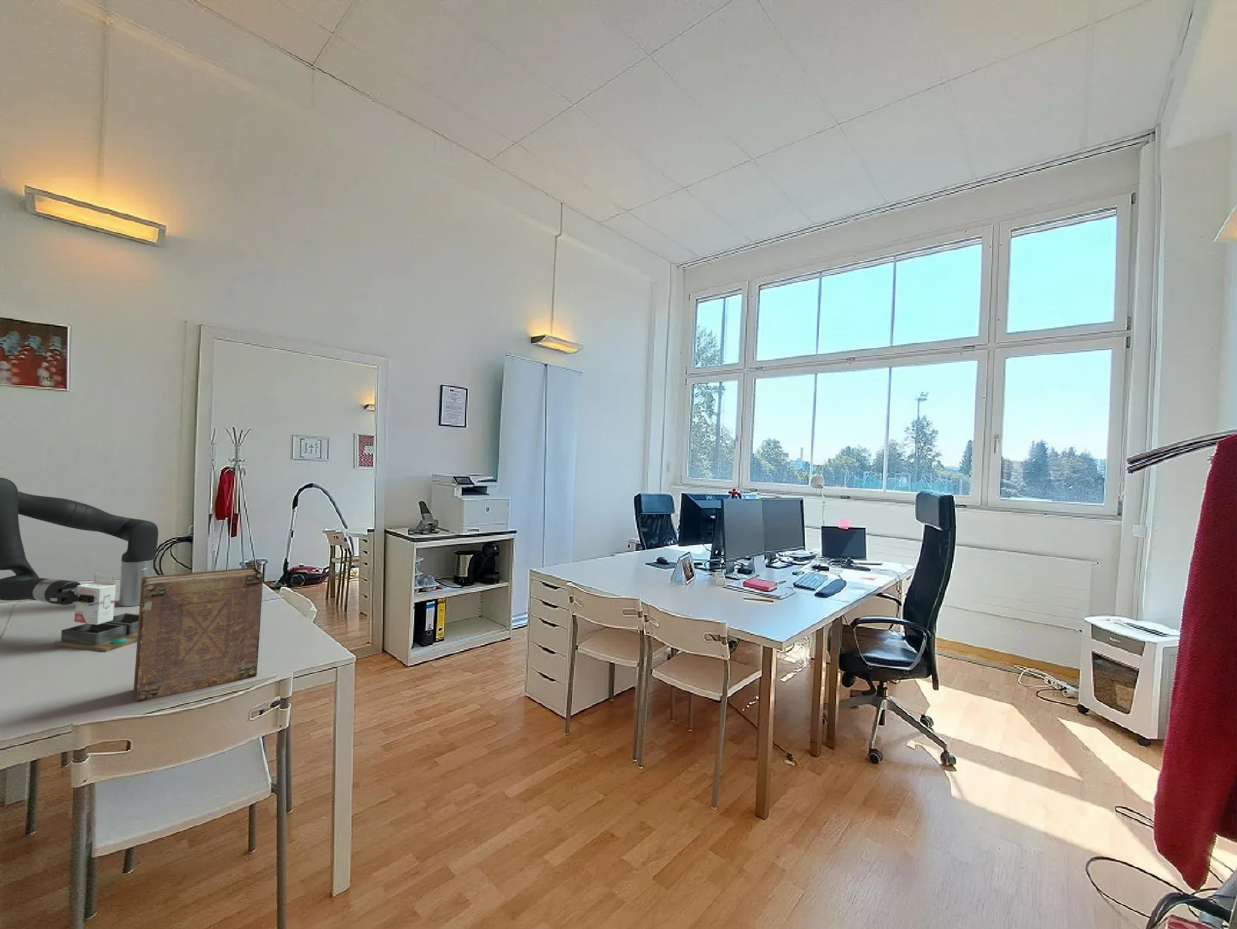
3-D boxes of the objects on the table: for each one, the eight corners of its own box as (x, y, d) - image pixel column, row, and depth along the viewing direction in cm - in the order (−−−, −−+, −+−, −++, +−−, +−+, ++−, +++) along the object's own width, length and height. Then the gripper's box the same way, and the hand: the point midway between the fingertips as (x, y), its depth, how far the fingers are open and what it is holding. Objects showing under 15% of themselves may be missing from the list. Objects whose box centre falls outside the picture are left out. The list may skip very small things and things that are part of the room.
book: (135, 703, 125) (142, 584, 125) (133, 689, 132) (140, 577, 132) (257, 676, 144) (263, 572, 143) (250, 665, 150) (256, 566, 150)
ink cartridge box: (72, 622, 157) (76, 576, 157) (90, 617, 162) (94, 572, 162) (96, 625, 156) (100, 578, 156) (114, 620, 161) (117, 575, 161)
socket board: (127, 625, 175) (128, 612, 175) (172, 630, 173) (172, 617, 173) (56, 645, 155) (57, 631, 155) (106, 651, 153) (107, 637, 153)
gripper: (30, 585, 154) (76, 591, 152) (85, 575, 168) (128, 580, 166) (28, 609, 154) (74, 615, 152) (83, 597, 168) (126, 603, 166)
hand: (102, 597), depth 159 cm, fingers closed on ink cartridge box, 5 cm apart
